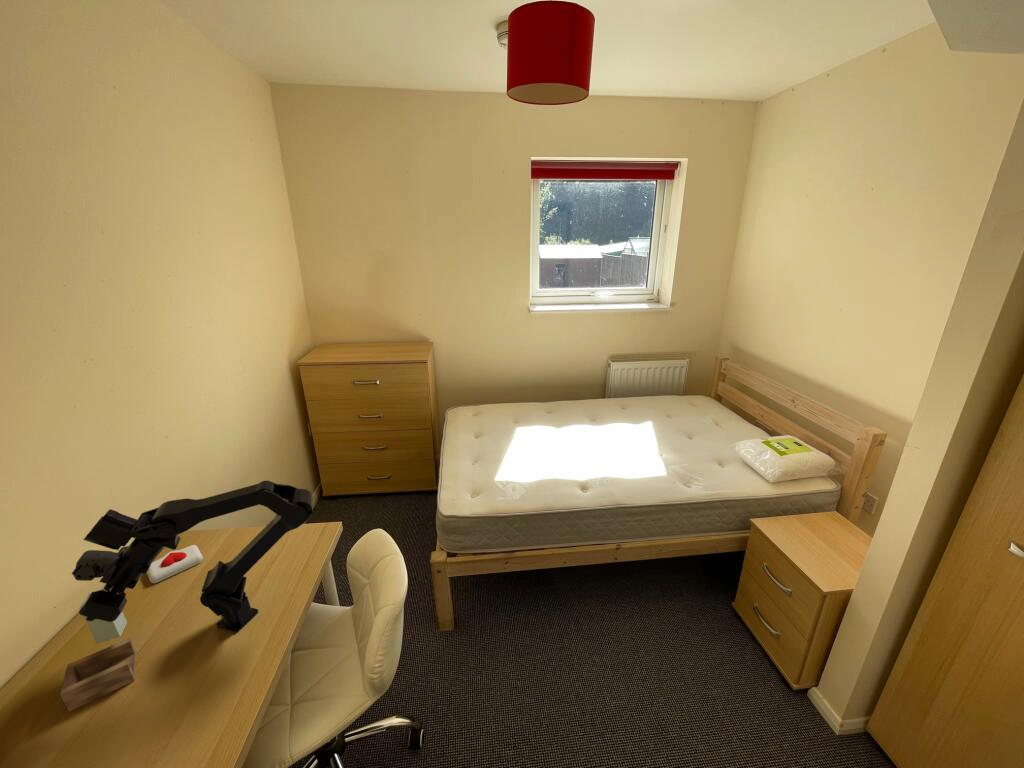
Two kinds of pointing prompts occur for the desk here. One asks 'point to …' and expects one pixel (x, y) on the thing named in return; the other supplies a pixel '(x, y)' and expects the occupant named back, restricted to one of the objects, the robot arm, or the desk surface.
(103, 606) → the robot arm
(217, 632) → the desk surface
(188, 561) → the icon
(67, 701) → the wooden channel cradle
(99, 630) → the clay bar
